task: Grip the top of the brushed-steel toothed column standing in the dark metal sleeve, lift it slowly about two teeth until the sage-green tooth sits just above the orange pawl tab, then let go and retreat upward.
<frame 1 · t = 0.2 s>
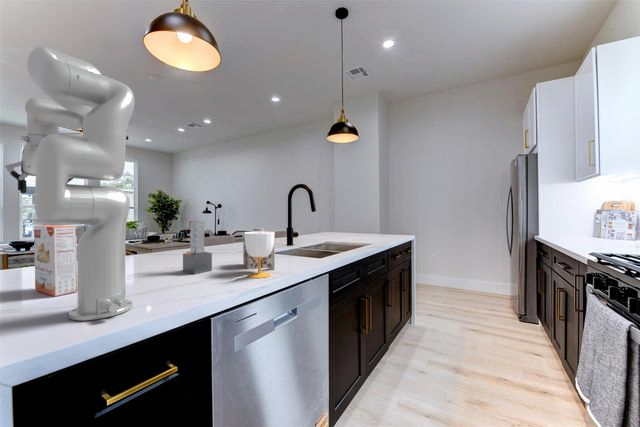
hand: (43, 193, 93), 31 cm above the table, tool pointing down, fingers open, 9 cm apart
cracker box: (55, 292, 87), on the table
column: (196, 246, 110), point 11 cm above the table, slide at 0.0 cm
decorative jar: (258, 268, 123), on the table
cup: (259, 276, 110), on the table
stand base: (197, 274, 111), on the table
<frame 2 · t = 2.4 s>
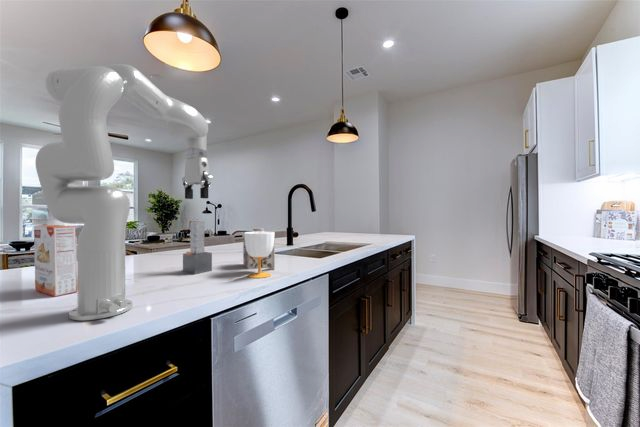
hand: (196, 198, 111), 30 cm above the table, tool pointing down, fingers open, 9 cm apart
nothing on the table moved.
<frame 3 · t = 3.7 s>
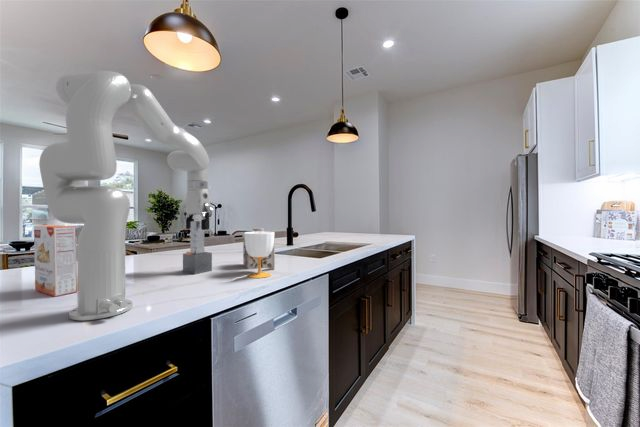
hand: (197, 229, 111), 18 cm above the table, tool pointing down, fingers open, 9 cm apart
nothing on the table moved.
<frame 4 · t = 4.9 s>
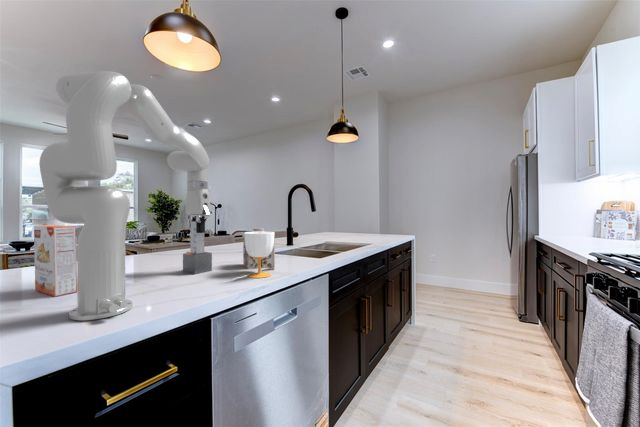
hand: (197, 232, 111), 17 cm above the table, tool pointing down, fingers closed on column, 3 cm apart
column: (196, 246, 110), point 11 cm above the table, slide at 0.0 cm, touching gripper
everything else where it was.
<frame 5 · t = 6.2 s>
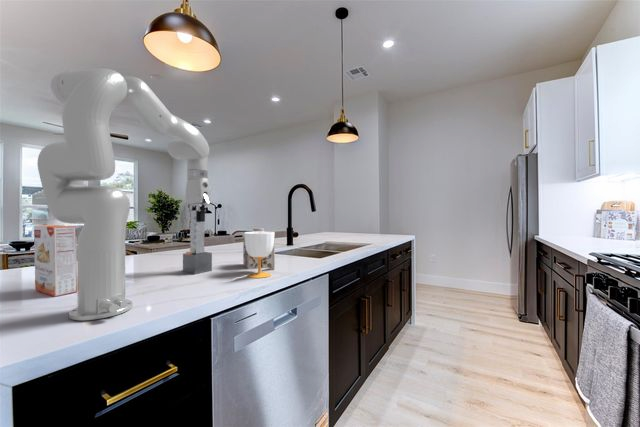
hand: (197, 221, 111), 21 cm above the table, tool pointing down, fingers closed on column, 3 cm apart
column: (196, 235, 110), point 16 cm above the table, slide at 4.4 cm, touching gripper
everything else where it was.
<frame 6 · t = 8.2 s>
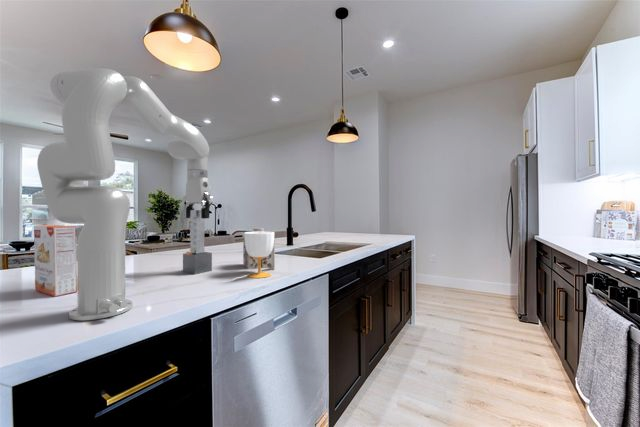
hand: (197, 218, 111), 23 cm above the table, tool pointing down, fingers open, 9 cm apart
column: (196, 235, 110), point 16 cm above the table, slide at 4.5 cm
everything else where it was.
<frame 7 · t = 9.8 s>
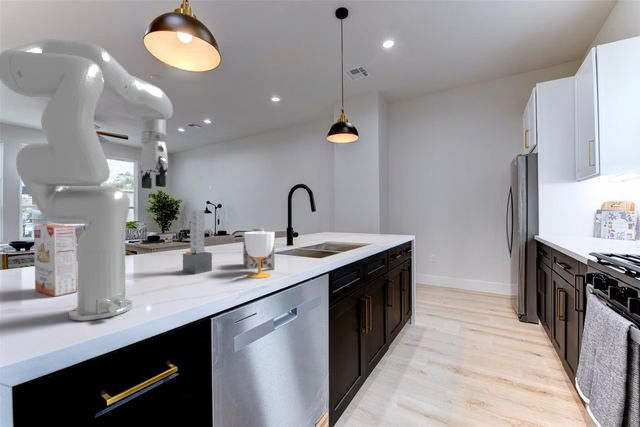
hand: (153, 187, 99), 34 cm above the table, tool pointing down, fingers open, 9 cm apart
nothing on the table moved.
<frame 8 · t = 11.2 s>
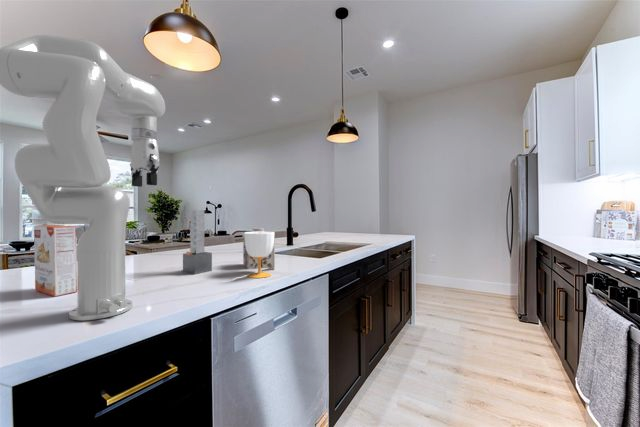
hand: (144, 185, 97), 34 cm above the table, tool pointing down, fingers open, 9 cm apart
nothing on the table moved.
at the end: column slide at 4.5 cm; the gripper is holding nothing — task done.
